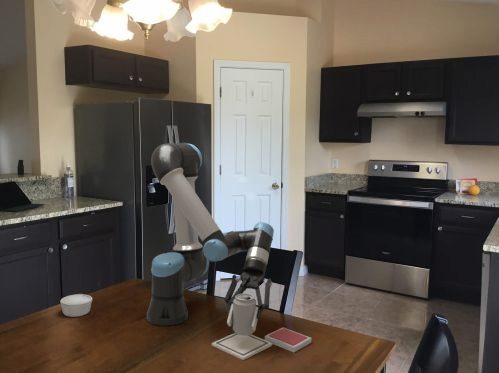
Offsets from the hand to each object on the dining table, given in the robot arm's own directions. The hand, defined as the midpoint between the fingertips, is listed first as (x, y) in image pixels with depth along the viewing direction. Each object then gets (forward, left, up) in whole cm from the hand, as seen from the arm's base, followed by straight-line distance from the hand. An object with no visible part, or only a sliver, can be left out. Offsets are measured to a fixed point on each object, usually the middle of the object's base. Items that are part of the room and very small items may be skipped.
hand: (241, 326), depth 146 cm
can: (-1, +3, -4) cm, 5 cm away
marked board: (-2, +3, -8) cm, 9 cm away
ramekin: (-65, -21, -8) cm, 69 cm away
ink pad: (+7, +16, -8) cm, 19 cm away
